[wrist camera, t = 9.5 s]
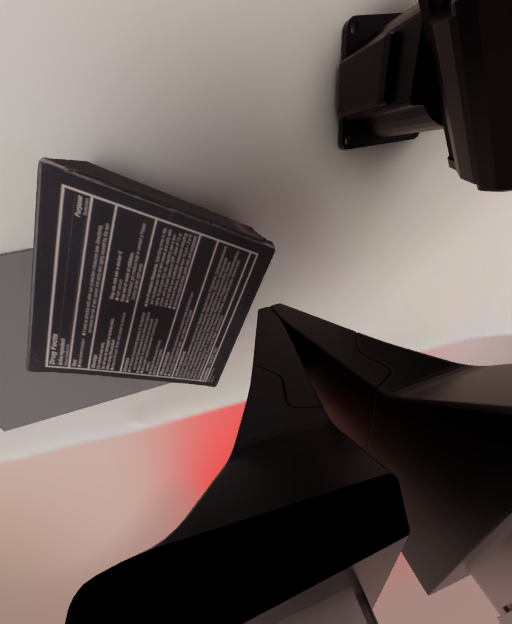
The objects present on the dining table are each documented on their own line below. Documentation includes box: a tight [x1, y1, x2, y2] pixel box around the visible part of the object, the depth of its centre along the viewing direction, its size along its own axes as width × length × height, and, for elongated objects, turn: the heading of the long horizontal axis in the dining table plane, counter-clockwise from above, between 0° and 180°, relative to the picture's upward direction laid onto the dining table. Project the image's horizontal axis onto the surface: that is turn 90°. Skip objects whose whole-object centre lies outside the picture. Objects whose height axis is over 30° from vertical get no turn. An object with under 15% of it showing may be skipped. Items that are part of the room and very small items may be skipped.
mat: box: [0, 248, 172, 431], centre depth 19 cm, size 18×14×1 cm
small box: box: [26, 158, 275, 387], centre depth 16 cm, size 11×6×10 cm
